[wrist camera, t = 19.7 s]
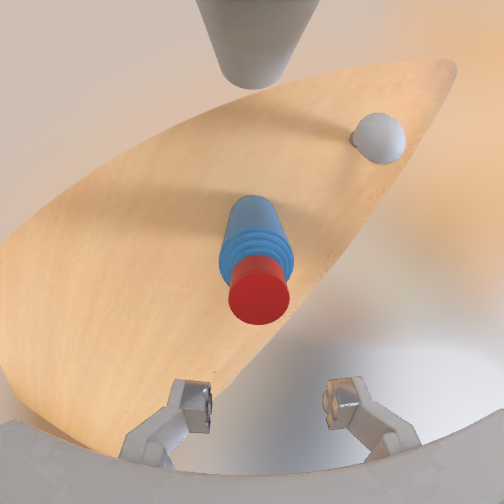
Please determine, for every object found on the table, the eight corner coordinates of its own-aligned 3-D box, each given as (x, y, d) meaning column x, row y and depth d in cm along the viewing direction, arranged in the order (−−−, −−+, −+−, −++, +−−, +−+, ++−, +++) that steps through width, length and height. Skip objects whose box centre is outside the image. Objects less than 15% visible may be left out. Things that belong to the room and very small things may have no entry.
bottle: (230, 195, 37) (208, 251, 17) (276, 196, 37) (311, 252, 17) (229, 239, 39) (213, 333, 19) (274, 240, 40) (300, 334, 20)
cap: (230, 253, 20) (227, 271, 17) (286, 254, 20) (292, 272, 17) (231, 301, 21) (228, 324, 19) (282, 302, 22) (287, 325, 19)
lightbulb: (347, 110, 33) (382, 99, 23) (381, 133, 34) (423, 132, 24) (328, 145, 35) (358, 145, 25) (363, 168, 36) (401, 177, 26)
